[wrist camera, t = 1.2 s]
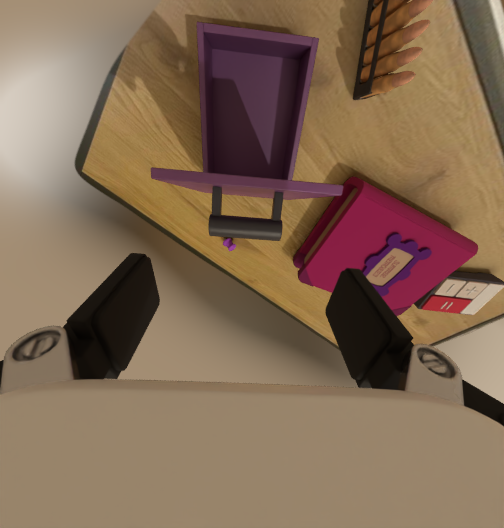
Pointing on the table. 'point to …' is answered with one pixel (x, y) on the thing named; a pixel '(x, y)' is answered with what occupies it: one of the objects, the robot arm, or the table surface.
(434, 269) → the book
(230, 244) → the pushpin
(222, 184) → the lid
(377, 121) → the table surface
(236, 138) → the box
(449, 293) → the calculator
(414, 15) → the ammunition clip
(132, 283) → the robot arm
